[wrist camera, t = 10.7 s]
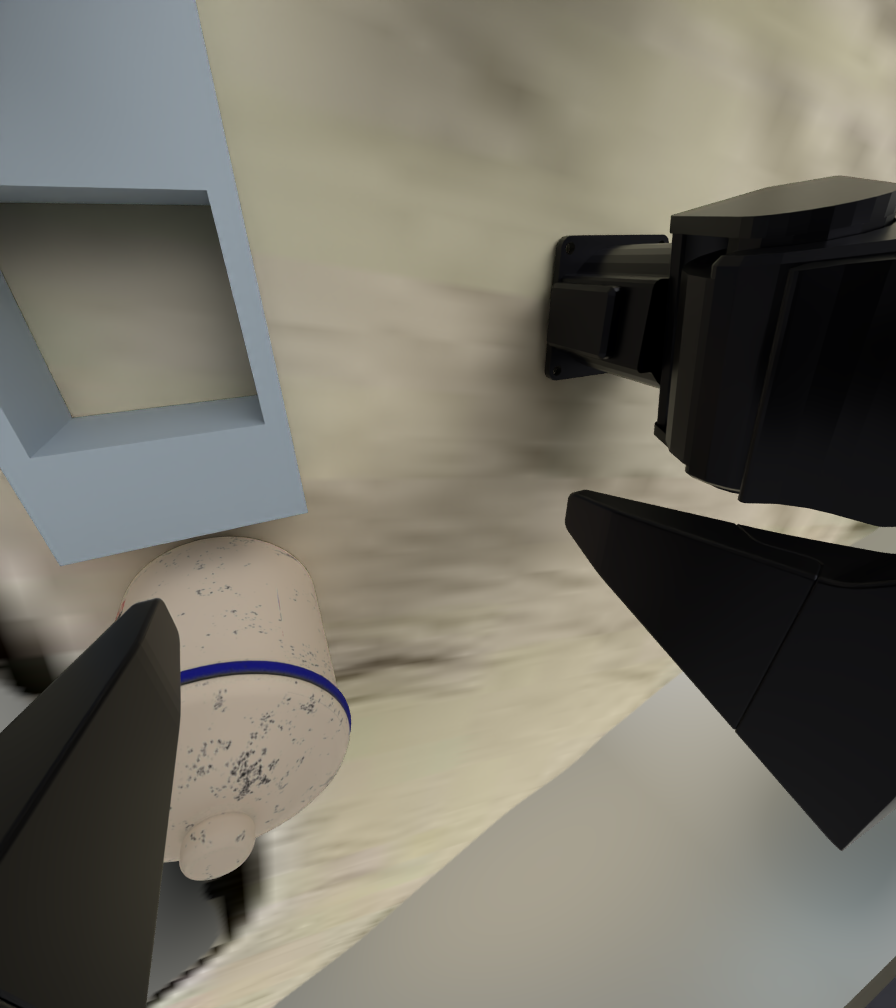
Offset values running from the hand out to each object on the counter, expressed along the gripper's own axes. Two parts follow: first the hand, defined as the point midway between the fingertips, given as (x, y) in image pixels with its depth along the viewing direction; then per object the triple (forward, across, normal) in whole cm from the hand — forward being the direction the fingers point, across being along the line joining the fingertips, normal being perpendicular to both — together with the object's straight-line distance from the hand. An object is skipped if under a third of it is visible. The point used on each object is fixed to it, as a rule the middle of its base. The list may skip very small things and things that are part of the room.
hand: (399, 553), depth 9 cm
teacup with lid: (+12, +6, +11) cm, 17 cm away
